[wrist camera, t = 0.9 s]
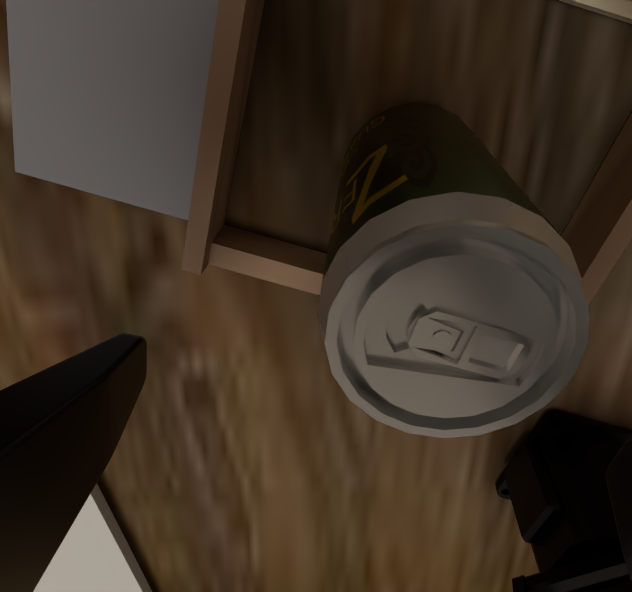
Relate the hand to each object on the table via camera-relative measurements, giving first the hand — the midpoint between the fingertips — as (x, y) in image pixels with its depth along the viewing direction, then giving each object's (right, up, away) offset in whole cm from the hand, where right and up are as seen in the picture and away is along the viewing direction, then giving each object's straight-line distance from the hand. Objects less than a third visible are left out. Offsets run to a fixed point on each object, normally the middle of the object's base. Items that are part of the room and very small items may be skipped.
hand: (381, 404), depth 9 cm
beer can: (+3, +7, +11) cm, 13 cm away
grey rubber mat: (-9, +11, +10) cm, 17 cm away
